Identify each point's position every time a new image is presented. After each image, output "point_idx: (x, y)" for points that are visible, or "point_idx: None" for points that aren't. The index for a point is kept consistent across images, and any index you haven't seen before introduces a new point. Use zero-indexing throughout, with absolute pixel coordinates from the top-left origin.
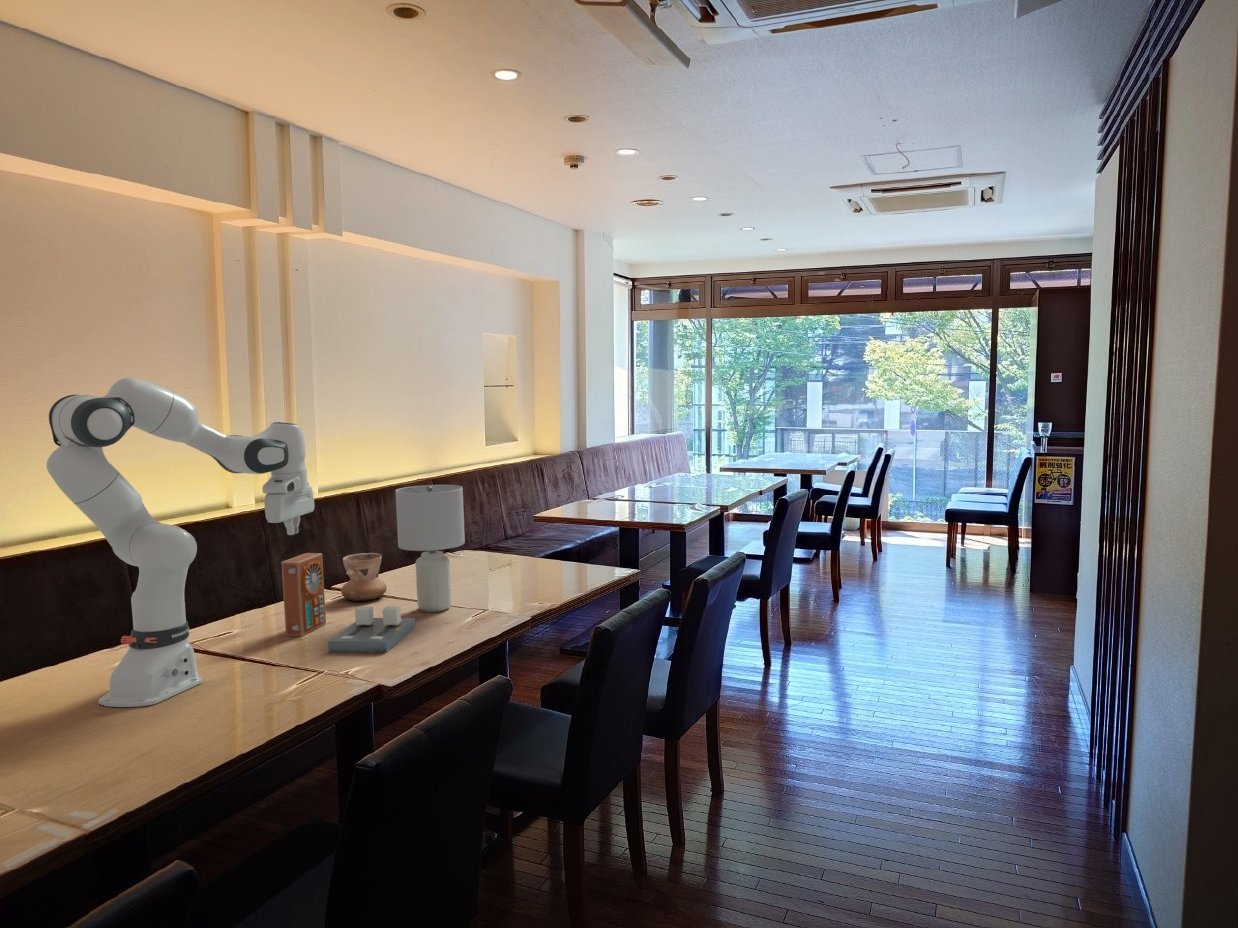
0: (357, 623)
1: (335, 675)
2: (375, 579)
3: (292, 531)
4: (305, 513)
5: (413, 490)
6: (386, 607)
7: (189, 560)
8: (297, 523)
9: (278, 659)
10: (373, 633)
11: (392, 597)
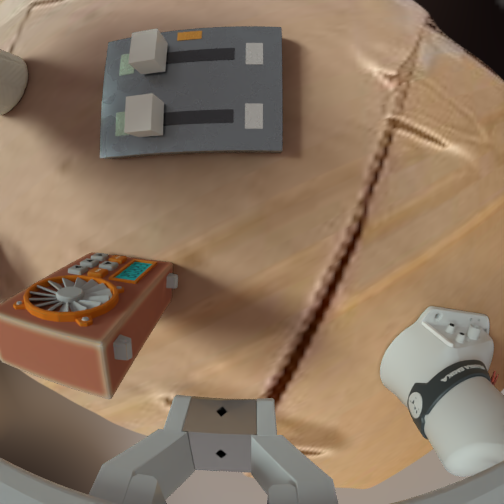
0: (162, 130)
1: (406, 93)
2: None
3: (273, 418)
4: (5, 463)
5: None
6: (137, 59)
7: None
8: (162, 454)
9: (326, 239)
10: (220, 71)
11: None
